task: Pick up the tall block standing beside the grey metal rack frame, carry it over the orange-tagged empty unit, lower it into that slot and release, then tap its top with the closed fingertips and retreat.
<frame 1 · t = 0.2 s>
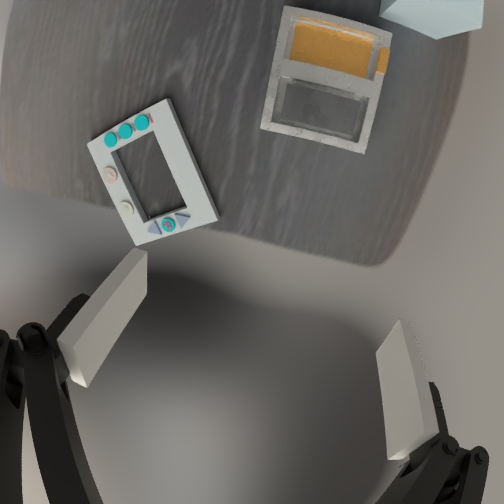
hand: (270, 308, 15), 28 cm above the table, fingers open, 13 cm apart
electronic device: (153, 174, 43), on the table
block: (410, 14, 25), on the table
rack: (324, 78, 32), on the table
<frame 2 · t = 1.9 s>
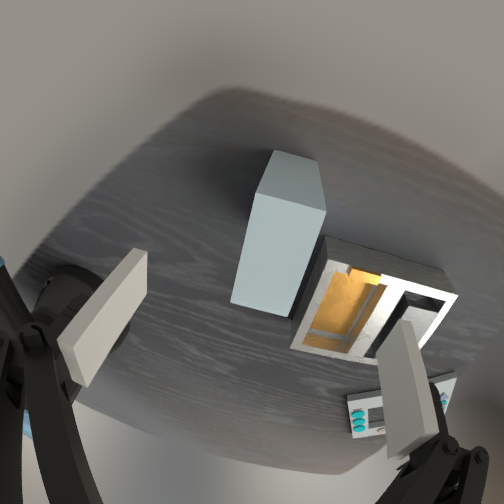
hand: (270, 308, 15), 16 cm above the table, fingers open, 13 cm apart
electronic device: (400, 403, 45), on the table
block: (284, 194, 29), on the table
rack: (368, 298, 33), on the table
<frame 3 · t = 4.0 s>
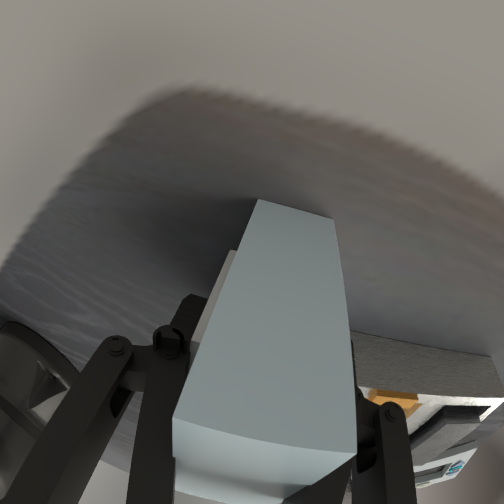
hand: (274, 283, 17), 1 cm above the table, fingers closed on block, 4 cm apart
electronic device: (410, 468, 33), on the table
block: (276, 271, 18), on the table, touching gripper
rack: (389, 392, 22), on the table
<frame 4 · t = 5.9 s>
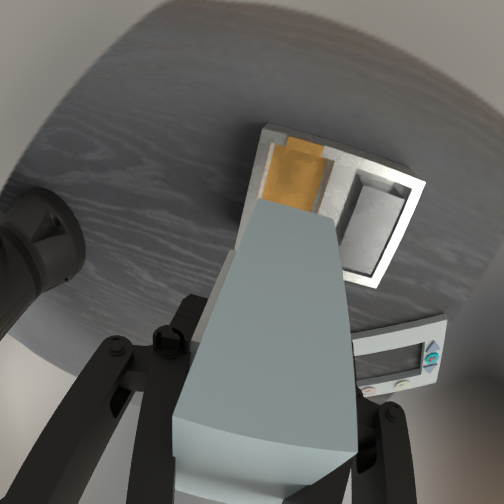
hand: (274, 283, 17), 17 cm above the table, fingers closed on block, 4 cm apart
electronic device: (383, 357, 42), on the table
block: (277, 271, 18), point 15 cm above the table, touching gripper
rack: (325, 198, 31), on the table
when the fingers open (6 cm above the table, at t = 8.0 s): block drops 3 cm, resting on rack.
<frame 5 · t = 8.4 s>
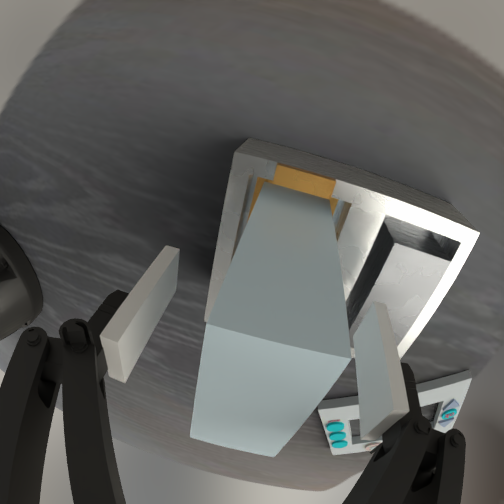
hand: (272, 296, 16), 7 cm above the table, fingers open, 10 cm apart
electronic device: (394, 413, 33), on the table
block: (280, 246, 20), point 2 cm above the table, touching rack
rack: (333, 246, 22), on the table
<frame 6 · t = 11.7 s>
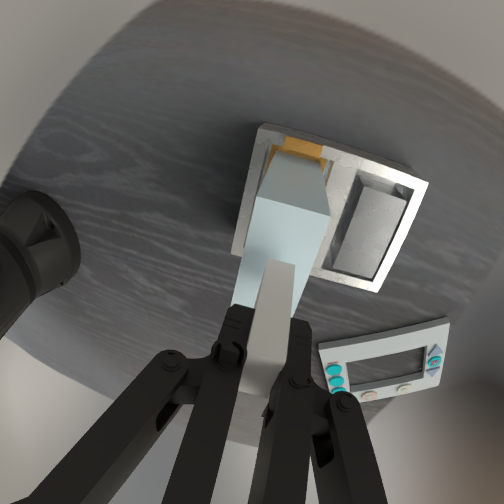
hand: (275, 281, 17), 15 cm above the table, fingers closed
electronic device: (385, 361, 41), on the table
block: (287, 196, 28), point 2 cm above the table, touching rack
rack: (324, 200, 30), on the table
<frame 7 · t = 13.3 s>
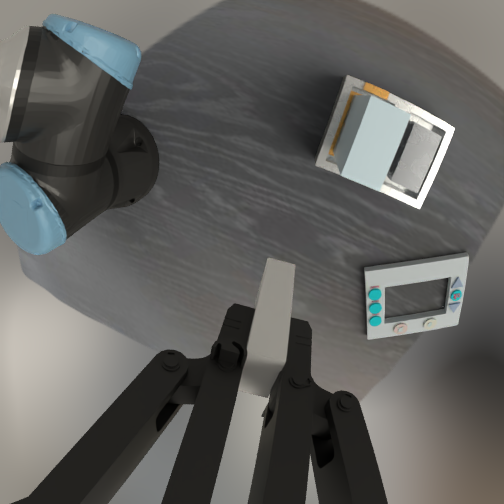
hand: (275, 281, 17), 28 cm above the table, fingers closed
electronic device: (415, 294, 48), on the table
block: (357, 129, 35), point 2 cm above the table, touching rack
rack: (381, 138, 36), on the table
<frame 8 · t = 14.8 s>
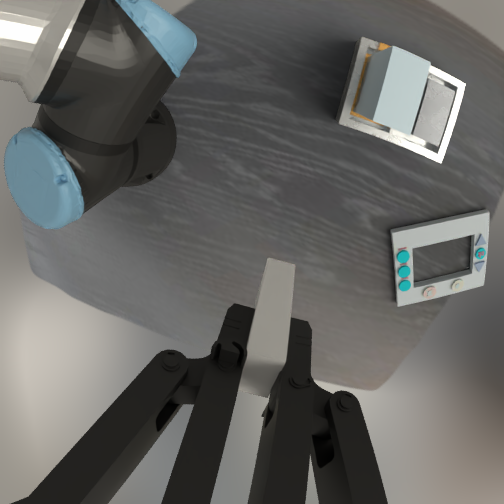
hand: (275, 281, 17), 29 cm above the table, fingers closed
electronic device: (440, 255, 46), on the table
block: (375, 88, 33), point 2 cm above the table, touching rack
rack: (396, 98, 35), on the table
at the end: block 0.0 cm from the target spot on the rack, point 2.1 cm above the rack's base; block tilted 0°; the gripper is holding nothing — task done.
